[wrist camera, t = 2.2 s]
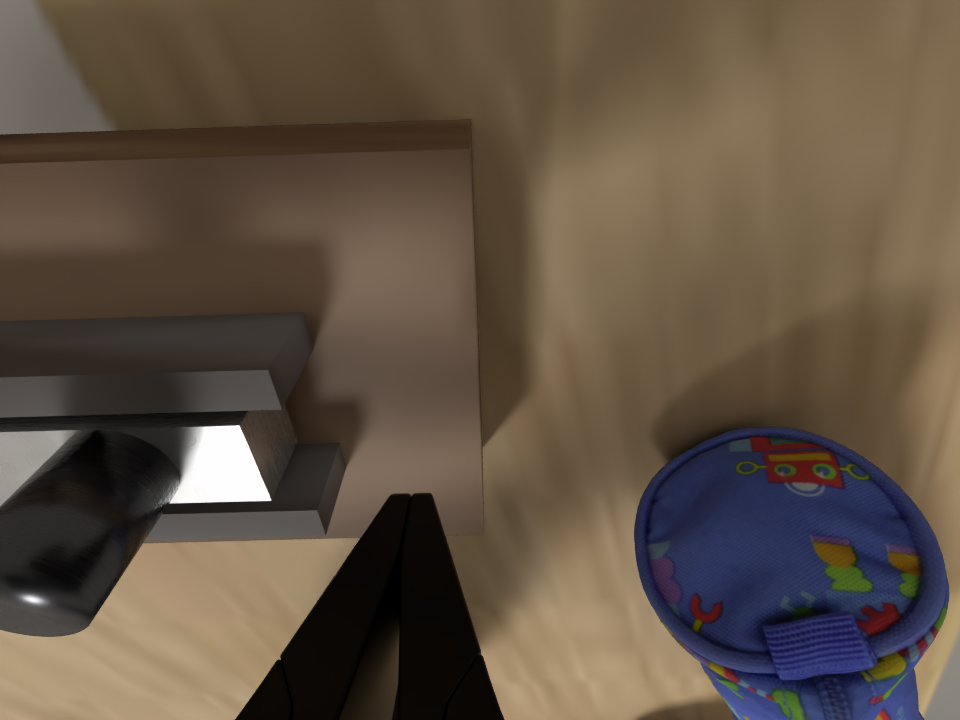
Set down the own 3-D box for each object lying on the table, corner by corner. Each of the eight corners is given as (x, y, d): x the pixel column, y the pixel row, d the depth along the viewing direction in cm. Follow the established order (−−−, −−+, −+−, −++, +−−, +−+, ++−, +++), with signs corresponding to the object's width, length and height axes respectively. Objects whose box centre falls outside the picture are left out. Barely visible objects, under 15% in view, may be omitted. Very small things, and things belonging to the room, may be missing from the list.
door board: (482, 448, 19) (485, 602, 14) (43, 460, 19) (-118, 617, 14) (471, 119, 12) (469, 178, 7) (-211, 141, 12) (-709, 215, 7)
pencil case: (860, 631, 28) (1008, 859, 20) (717, 664, 31) (801, 880, 23) (813, 377, 17) (1095, 659, 9) (595, 458, 20) (677, 738, 12)
